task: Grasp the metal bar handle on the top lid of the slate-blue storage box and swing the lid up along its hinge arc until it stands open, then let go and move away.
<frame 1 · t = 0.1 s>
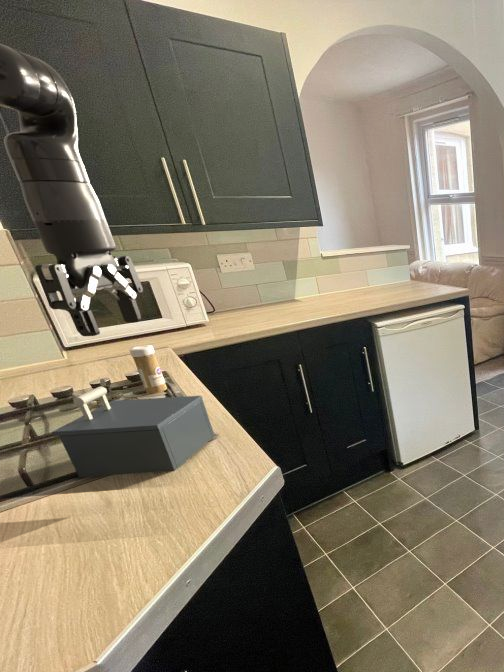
hand: (113, 328, 66), 27 cm above the worktop, tool pointing down, fingers open, 8 cm apart
storage box: (155, 462, 79), on the worktop
sprinkles bottle: (159, 397, 110), on the worktop
lid: (129, 403, 75), point 12 cm above the worktop, hinge at 0.0°
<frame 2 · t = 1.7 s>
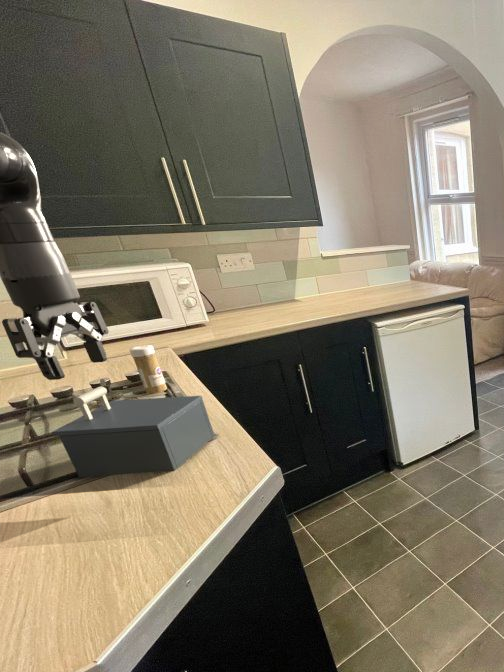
hand: (79, 369, 72), 19 cm above the worktop, tool pointing down, fingers open, 8 cm apart
nothing on the worktop moved.
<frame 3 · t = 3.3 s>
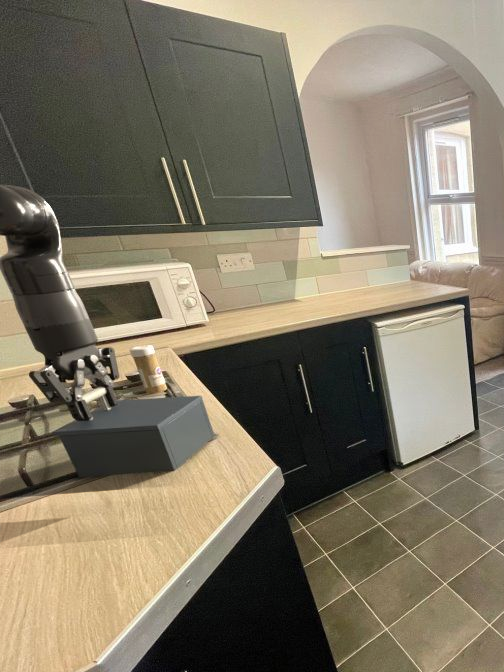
hand: (97, 412, 75), 11 cm above the worktop, tool pointing down, fingers closed on lid, 5 cm apart
lid: (129, 403, 75), point 12 cm above the worktop, hinge at 0.0°, touching gripper
everything else where it was.
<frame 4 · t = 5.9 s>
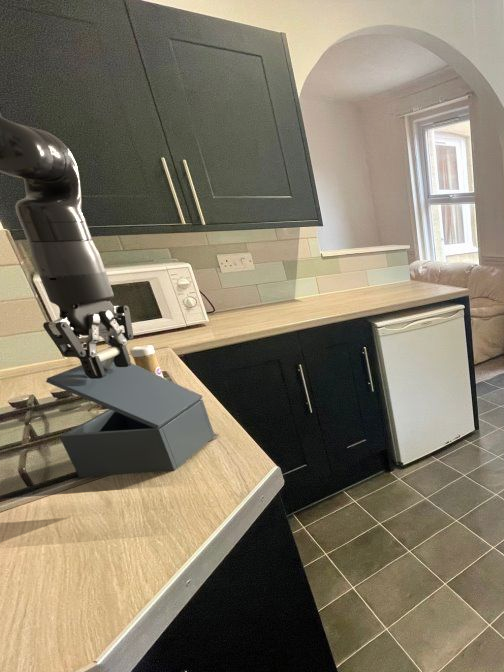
hand: (111, 371, 72), 19 cm above the worktop, tool pointing down, fingers closed on lid, 5 cm apart
lid: (136, 379, 73), point 17 cm above the worktop, hinge at 35.1°, touching gripper
everything else where it was.
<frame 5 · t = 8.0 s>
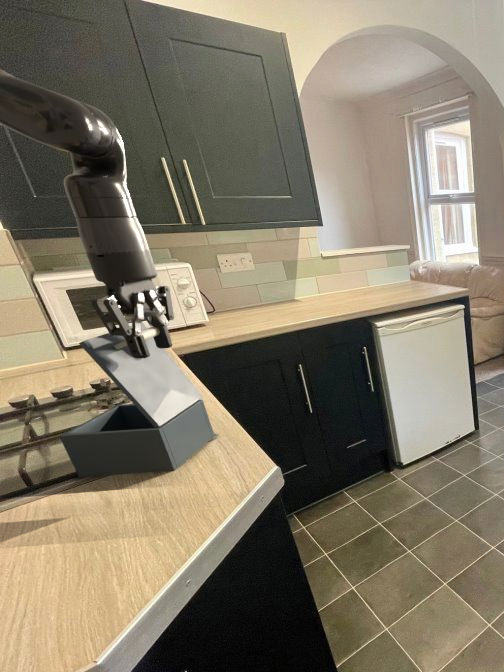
hand: (153, 352, 72), 22 cm above the worktop, tool pointing down, fingers closed on lid, 5 cm apart
lid: (159, 368, 73), point 19 cm above the worktop, hinge at 67.8°, touching gripper
everything else where it was.
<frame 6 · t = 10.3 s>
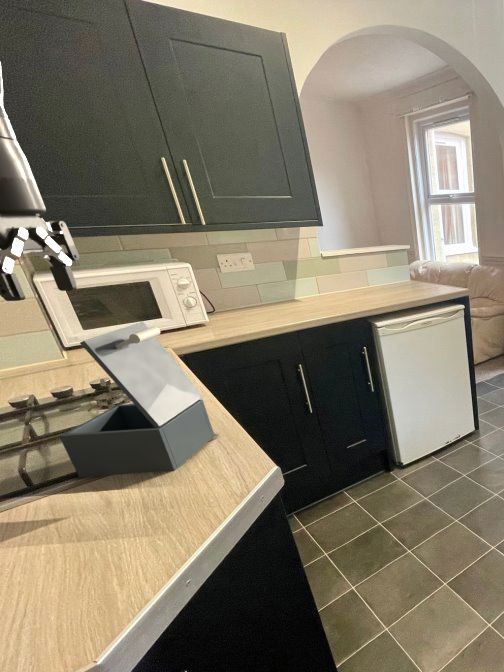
hand: (43, 295, 63), 32 cm above the worktop, tool pointing down, fingers open, 8 cm apart
lid: (160, 367, 73), point 19 cm above the worktop, hinge at 68.4°
everything else where it was.
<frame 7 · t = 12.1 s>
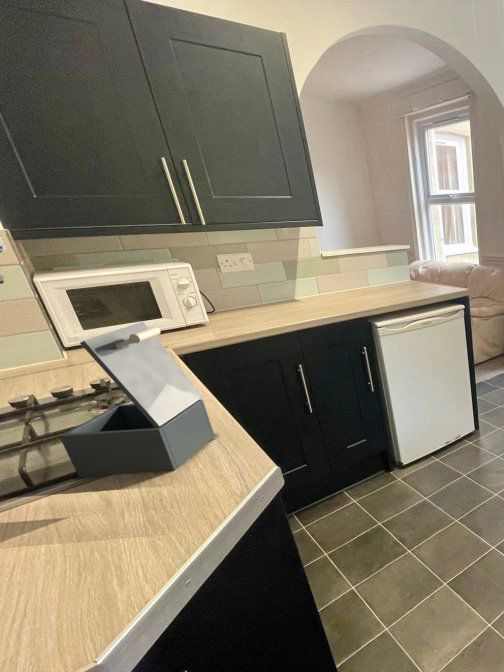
nothing on the worktop moved.
at the end: lid at +68° (first picture: +0°); the gripper is holding nothing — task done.
